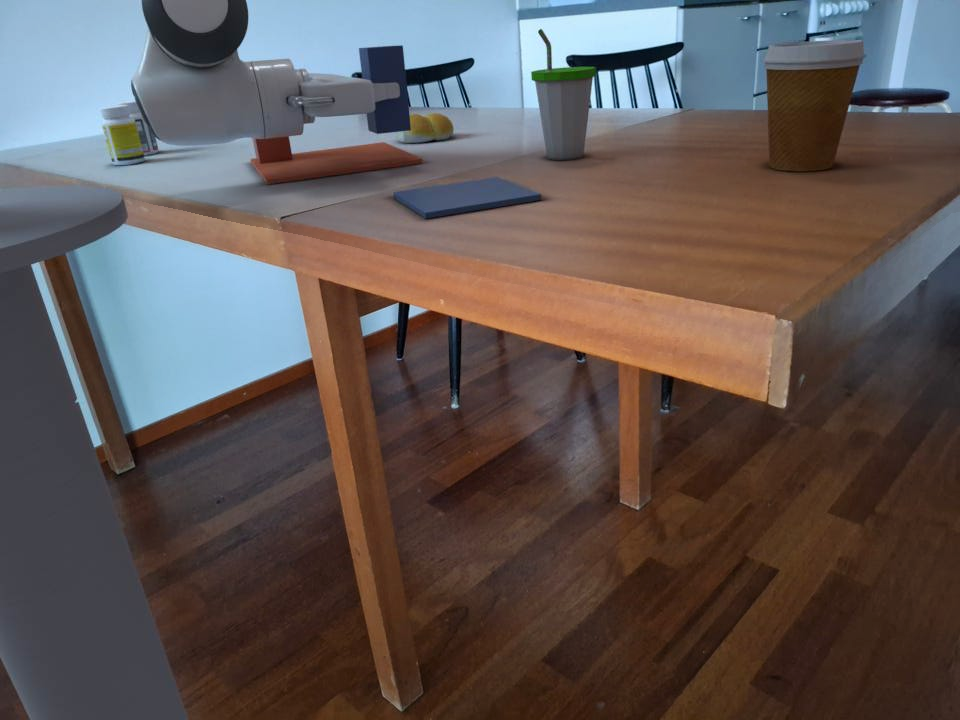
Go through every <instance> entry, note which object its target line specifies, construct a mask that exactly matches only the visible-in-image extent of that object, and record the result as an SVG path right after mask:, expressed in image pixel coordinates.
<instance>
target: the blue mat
mask: <svg viewBox="0 0 960 720" xmlns="http://www.w3.org/2000/svg"><path fill="white" fill-rule="evenodd" d="M392 194H393V199H395V200H397V201H398V202H399V203H401V204H403V205H404V206H406V208H409V209H411V210H412V211H413V212H415V213H416V214H418V215H419V216H421V217H422V218H424V219H425V220H427V219H432V218H433V219H434V218H439V217H440V218H441V217H447V216H451V215H459V214H464V213H470V212H476V211H477V212H478V211H481V210H488V209H489V210H490V209H495V208H500V207H506V206H514V205H519V204H526V203H530V202H538V201H542V194H541V193H539V192H537V191H534V190H532V189H530V188H526V187H524V186H523V185H519V184H516V183H513V182H512V181H509V180H507V179H504V178H501V177H498V176H493V177H487V178H480V179H479V178H478V179H473V180H467V181H465V180H464V181H460V182H459V181H458V182H453V183H446V184H438V185H432V186H427V187H426V186H425V187H420V188H412V189H406V190H400V191H393V192H392Z"/></svg>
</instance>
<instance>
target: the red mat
mask: <svg viewBox="0 0 960 720" xmlns="http://www.w3.org/2000/svg"><path fill="white" fill-rule="evenodd" d="M292 157H293V160H286V161H278V162H270V163H262V164H260V163H259V162H258V160H257V159H256V157H255V158H250V163H251V165H252V166H253V168H254V169H255V170H256V171H257V173H258V174H259V175H260V177H261V178H262V180H263V181H264V182H265V183H266V185H274V184H281V183H289V182H296V181H304V180H310V179H317V178H318V179H319V178H325V177H334V176H341V175H346V174H347V175H348V174H353V173H363V172H367V171H368V172H369V171H374V170H375V171H376V170H385V169H391V168H396V167H398V168H399V167H404V166H405V167H406V166H412V165H418V164H423V158H422V157H419V156H416V155H414V154H412V153H410V152H408V151H405V150H404V149H400V148H398V147H396V146H394V145H391V144H389V143H387V142H384V141H382V142H374V143H366V144H359V145H349V146H342V147H335V148H329V149H328V148H327V149H319V150H311V151H303V152H295V153H294V152H293V153H292Z"/></svg>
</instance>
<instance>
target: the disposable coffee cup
mask: <svg viewBox="0 0 960 720" xmlns="http://www.w3.org/2000/svg"><path fill="white" fill-rule="evenodd" d="M864 49H865V48H864V40H863V39H862V40H861V39H834V40H833V39H832V40H811V41H797V42H785V43H776V44H775V43H774V44H770V45H768V48H767V52H766V54H765V58H763V59H762V63H764V69H766V94H767V95H766V101H767V132H768V133H767V134H768V166H769V167H770V168H772V169H775V170H779V171H787V172H817V171H823V170H827V169H831V168H833V167H834V163H835V160H836V156H837V153H838V149H839V145H840V141H841V138H842V137H841V136H842V134H843V131H844V126H845V122H846V119H847V115H848V111H849V108H850V103H851V99H852V96H853V93H854V89H855V85H856V82H857V77H858V74H859V69H860V67H861V65H862V64H863V62H864V59H865V58H867V55H868V54H866V53H865V50H864Z"/></svg>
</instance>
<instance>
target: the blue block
mask: <svg viewBox="0 0 960 720" xmlns="http://www.w3.org/2000/svg"><path fill="white" fill-rule="evenodd" d="M404 53H405V52H404V45H401V44H400V45H381V46H370V47H369V46H367V47H359V48H358V54H359V61H360V70H361V79H367V80H371V81H372V83H389V82H396V83H398V84H399V88H400V96H399V97H398V98H392V99H385V100H381V101H378V102H375V110H374V111H373V112H371V113H366V120H367V129H368V131H369V132H371V133H373V134H377V135H382V134H390V133H397V132H400V131H409V130H411V125H410V115H411V114H410V105H409V95H408V85H407V75H406V63H405V54H404Z"/></svg>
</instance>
